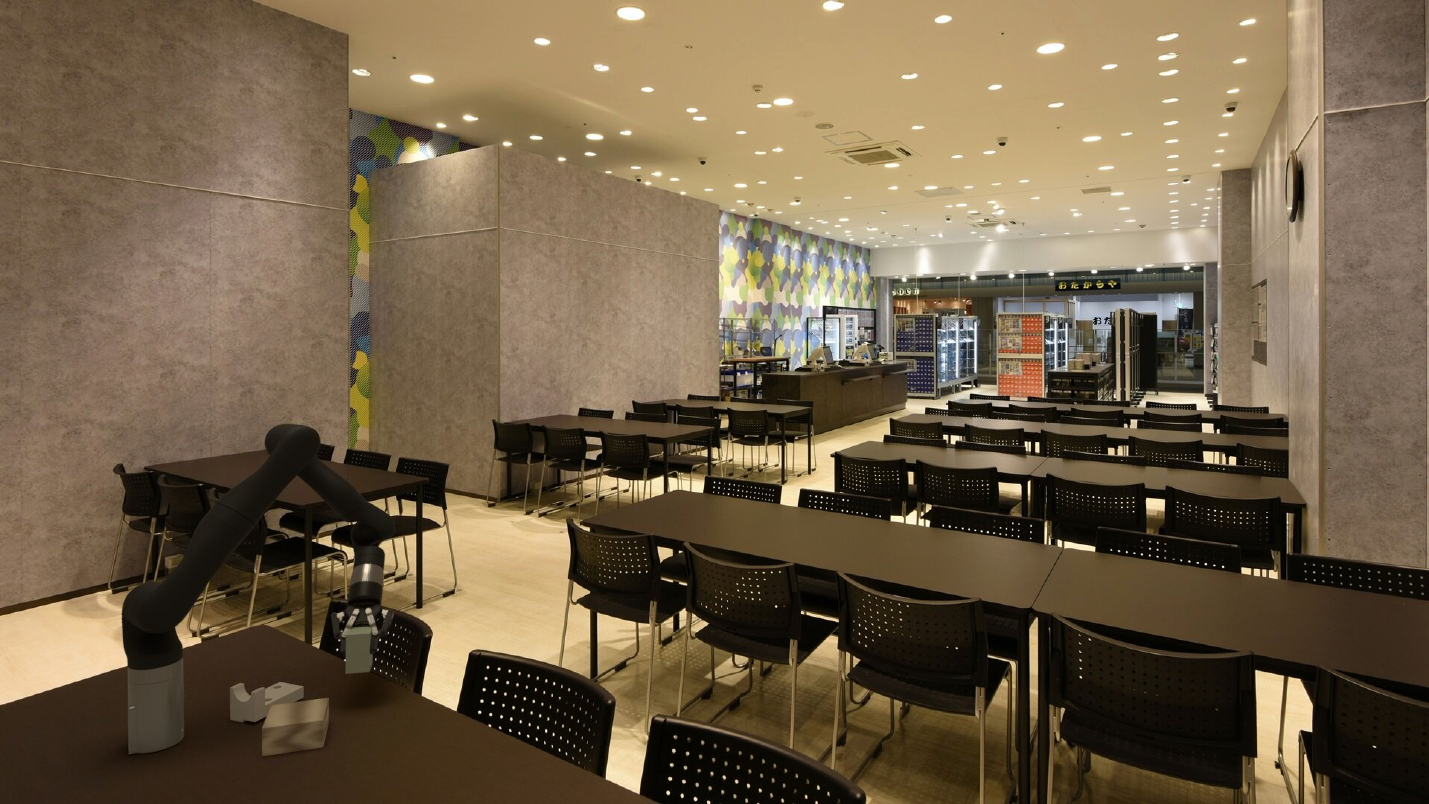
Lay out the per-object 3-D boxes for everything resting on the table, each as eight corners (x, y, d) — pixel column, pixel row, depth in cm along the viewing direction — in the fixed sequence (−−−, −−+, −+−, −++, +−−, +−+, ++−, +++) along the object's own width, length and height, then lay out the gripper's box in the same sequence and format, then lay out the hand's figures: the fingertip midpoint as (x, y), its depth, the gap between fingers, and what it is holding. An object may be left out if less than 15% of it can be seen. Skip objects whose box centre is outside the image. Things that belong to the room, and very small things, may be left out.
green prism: (345, 673, 171) (345, 635, 171) (349, 665, 176) (349, 627, 175) (369, 671, 173) (369, 633, 172) (372, 663, 177) (372, 626, 177)
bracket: (254, 726, 164) (254, 692, 164) (230, 720, 166) (229, 687, 166) (303, 701, 176) (303, 669, 176) (280, 696, 178) (279, 665, 178)
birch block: (262, 757, 151) (261, 728, 151) (271, 732, 162) (271, 705, 161) (323, 748, 155) (323, 720, 155) (328, 724, 166) (328, 697, 165)
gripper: (331, 581, 178) (321, 649, 167) (397, 578, 183) (390, 644, 172) (335, 596, 184) (325, 663, 173) (398, 593, 188) (393, 658, 177)
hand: (358, 653), depth 172 cm, fingers closed on green prism, 5 cm apart
